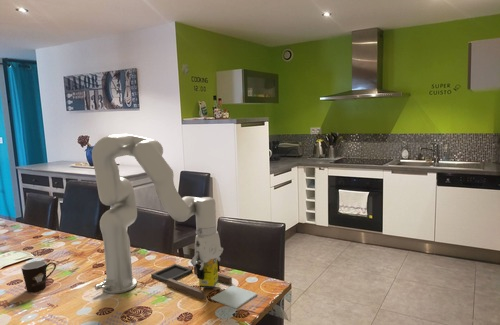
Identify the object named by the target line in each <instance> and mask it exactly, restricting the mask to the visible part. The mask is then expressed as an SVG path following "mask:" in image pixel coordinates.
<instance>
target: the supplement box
mask: <svg viewBox="0 0 500 325" xmlns="http://www.w3.org/2000/svg"><path fill="white" fill-rule="evenodd" d="M199 265H201V262H200V264H199ZM203 269H204V280H201V279H198V287H199V288H205V289H206V288H207V289H214V288H215V286H216V285H217V284H218V282H219V281H218V273H219V272H218V264H217V258H216V259H212V260H210V261H209V262H207V263H204V266H203Z"/></svg>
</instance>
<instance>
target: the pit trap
mask: <svg viewBox="0 0 500 325" xmlns="http://www.w3.org/2000/svg"><path fill="white" fill-rule="evenodd" d="M192 273H193V269H192V268H189V267H187V266H183V265H180V264H177V263H175V264H174V263H173V264H172V265H170V266H167V267H165V268H163V269H160V270H158V271H156V272H153V273H151V278H153V279H156V280H158V281H161V282H163V283H165V284H167V279H169V278H170V279H173V280H176V281H178V280H179V279H181V278H184V277H185V276H187V275H190V274H192Z"/></svg>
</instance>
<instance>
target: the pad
mask: <svg viewBox="0 0 500 325" xmlns="http://www.w3.org/2000/svg"><path fill="white" fill-rule="evenodd" d="M256 296H258V293H256V292H253V291H251V290H247V289H245V288H241V287H239V286H236V285H232V284H231V285H230V286H228V287H226V288H225V289H223V290H222V291H219V293H217V294H214V296H211V297H210V300H212V301H214V302H217V303H219V304H222V305H224V306H227V307H230V308H233V309H234V310H237V309H238V308H240V307H241V306H243V305H245V304H246V303H248V302H249V301H251V300H252V299H253V298H255V297H256Z"/></svg>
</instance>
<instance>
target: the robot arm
mask: <svg viewBox="0 0 500 325" xmlns="http://www.w3.org/2000/svg"><path fill="white" fill-rule="evenodd" d="M91 150H92V151H91V158H92V160H91V161H92V164H93V169H94V175H95V180H96V181H95V182H96V186H97V192H98V198H99V200H100V202H101V204H102V205H104V206H110V207H111V206H113V207H111V208H110V209H108V210H106V211H105V212H104V213H103V214H102V216H101V217H100V219H99V229H100V231H101V235H102V240H103V242H102V243H103V249H104V260H105V274H106V277H105V278H103V279H104V280H103V281H102V282H101V283H97V284H95V285H94V289H95V291H99V290H100V289H101V290H102V291H104V293H107V294H110V295H111V294H113V295H115V294H122V293H126V292H129V291H131V290H133V289H134V288H135V287H136V286H137V285H138V280H137V278H135V277H133V268H132V254H131V242H130V236H129V234H128V231H127V228H128V227H130V226H131V225H132V224H134V223H135V222H136V220H137V218H138V208H137V202H136V201H137V200H136V194H135V190H134V186H133V184H132V183H131V181H130V180H129V179H127V177H126V178H125V177H122V176H120V175H121V174H120V169H119V166H118V163H117V162H116V158H119V157H124V156H130V157H134V159H135V160H136V162H137V163H138V164H139V165H140V167H141V168H142V170H143V171H144V173H146V175H147V176H148V177H149V179H150V180H151V182H152V183H153V185H154V190H155V192H156V195H157V198H158V200H159V202H160V203H161V205H162V207H163V208H164V210H165V211H166V212H167V214H168V215H169V216H170V217H171V218H172V220H175V221H177V222H181V223H182V222H183V223H184V222H185V221H187V220H188V219H190V218H191V217H192V216H194V215H195V225H196V226H195V227H196V230H195V234H196V235H195V240H194V256H192V259H191V260H190V264H191V265H192V266H193V268H194V267H195V268H196V269H197V274H196V278H197V279H198V280H199V279H201V280H204V269H203V266H204V263H207V262H209V261H210V260H212V259H216V258H217V264H218V273H220V272H221V271H220V267H221V266H220V262H221V257H222V256H223V255H222V254H223V251H224V247H223V246H221V238H220V235H219V232H218V230H217V214H216V212H217V210H216V209H217V208H216V200H215V199H214V198H213V197H211V196H202V197H198V196H197V197H196V196H189V195H188V196H186V195H185V196H181V195H180V194H179V192H178V190H177V189H176V185H175V183H174V182H175V181H174V178H175V177H174V175H175V174H174V170H173V169H172V167H171V166H170V164H168V162H167V161H166V159H165V158H164V157H163V154H164V148H163V145H162V144H161V142H159V141H158V140H156V139H152V138H149V137H148V138H147V137H143V136H138V135H135V134H134V135H133V134H128V133H120V134H111V135H105V136H104V137H102V138H100V139H99V140H97V142H96V143H95V144H94V146H93V148H92V149H91ZM200 262H201V265H199V264H200Z"/></svg>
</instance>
